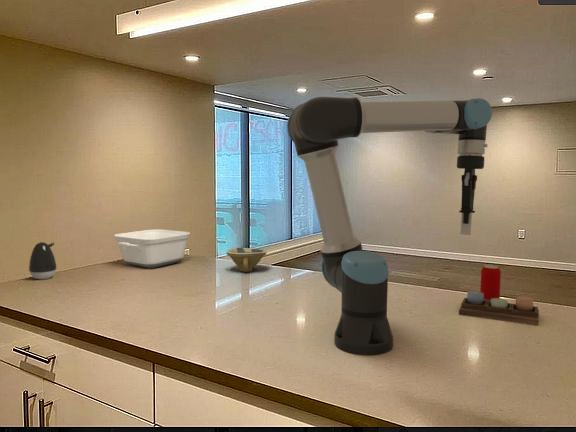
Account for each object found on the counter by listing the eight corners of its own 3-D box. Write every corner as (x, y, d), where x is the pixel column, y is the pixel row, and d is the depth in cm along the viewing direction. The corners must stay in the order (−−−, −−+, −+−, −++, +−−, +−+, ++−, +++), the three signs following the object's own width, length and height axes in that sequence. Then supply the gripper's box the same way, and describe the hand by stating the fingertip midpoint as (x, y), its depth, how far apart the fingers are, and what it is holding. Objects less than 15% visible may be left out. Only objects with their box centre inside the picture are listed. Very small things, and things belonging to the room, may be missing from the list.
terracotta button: (532, 311, 139) (533, 301, 138) (515, 309, 141) (515, 299, 141) (533, 307, 143) (533, 297, 142) (515, 305, 145) (516, 295, 145)
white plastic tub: (145, 274, 202) (144, 240, 201) (104, 266, 218) (103, 235, 216) (200, 261, 231) (199, 232, 229) (160, 255, 246) (159, 228, 245)
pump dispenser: (62, 277, 196) (60, 241, 195) (38, 282, 188) (36, 244, 186) (48, 274, 202) (47, 239, 200) (24, 278, 193) (22, 242, 192)
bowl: (265, 275, 200) (265, 253, 199) (224, 274, 201) (223, 253, 200) (267, 266, 218) (267, 246, 217) (229, 266, 218) (229, 246, 217)
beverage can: (495, 303, 157) (497, 269, 156) (477, 300, 161) (478, 266, 160) (502, 300, 161) (503, 266, 160) (483, 296, 166) (485, 263, 164)
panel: (538, 325, 135) (538, 315, 135) (458, 314, 145) (459, 305, 145) (538, 314, 145) (539, 305, 145) (464, 304, 156) (464, 296, 156)
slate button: (482, 304, 145) (482, 295, 145) (466, 302, 147) (466, 293, 147) (484, 301, 149) (484, 292, 149) (468, 299, 152) (468, 290, 151)
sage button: (506, 312, 142) (507, 303, 142) (489, 310, 144) (490, 301, 144) (507, 308, 146) (508, 299, 146) (491, 306, 149) (491, 297, 148)
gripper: (482, 154, 130) (476, 237, 132) (486, 156, 141) (481, 233, 143) (454, 154, 133) (448, 235, 135) (460, 156, 145) (455, 231, 147)
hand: (465, 234), depth 139 cm, fingers closed
